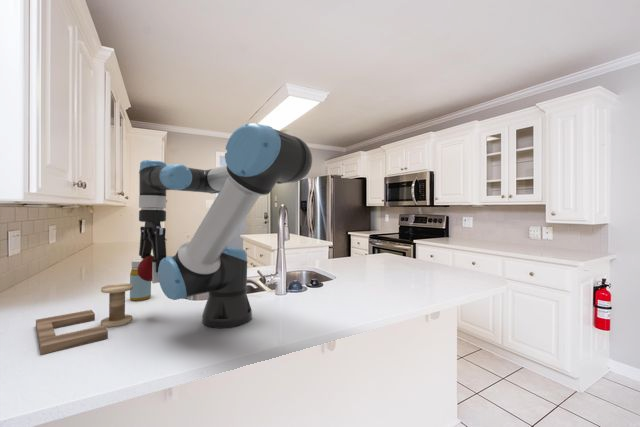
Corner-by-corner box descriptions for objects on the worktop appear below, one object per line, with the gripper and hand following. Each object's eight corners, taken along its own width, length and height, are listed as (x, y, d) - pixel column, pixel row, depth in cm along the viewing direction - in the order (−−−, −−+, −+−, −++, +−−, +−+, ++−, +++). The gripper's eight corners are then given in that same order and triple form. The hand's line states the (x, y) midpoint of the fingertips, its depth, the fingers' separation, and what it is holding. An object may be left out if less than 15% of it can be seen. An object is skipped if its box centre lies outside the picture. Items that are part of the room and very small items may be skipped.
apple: (143, 285, 88) (144, 258, 88) (133, 280, 93) (134, 255, 93) (169, 280, 94) (170, 255, 94) (158, 277, 99) (159, 253, 99)
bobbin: (135, 322, 90) (136, 286, 90) (103, 329, 84) (104, 291, 84) (128, 315, 96) (129, 282, 96) (98, 321, 90) (98, 286, 90)
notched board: (107, 338, 78) (107, 330, 78) (40, 354, 69) (40, 346, 69) (91, 315, 95) (91, 309, 95) (35, 326, 86) (35, 319, 86)
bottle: (154, 296, 117) (155, 259, 117) (142, 301, 110) (143, 262, 110) (138, 295, 118) (139, 258, 118) (125, 300, 111) (125, 261, 111)
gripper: (179, 209, 90) (178, 283, 90) (152, 209, 103) (151, 273, 103) (153, 209, 84) (152, 288, 84) (128, 209, 98) (127, 277, 98)
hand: (151, 280), depth 94 cm, fingers closed on apple, 8 cm apart
